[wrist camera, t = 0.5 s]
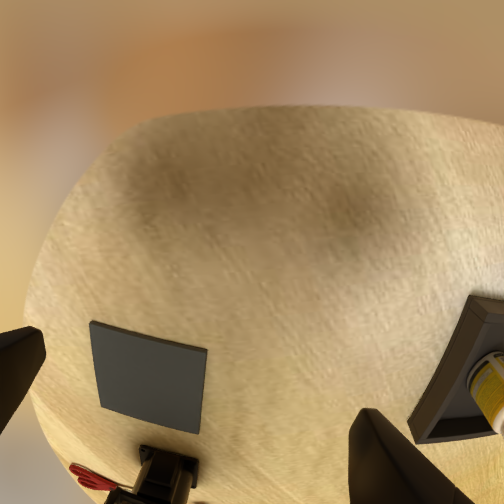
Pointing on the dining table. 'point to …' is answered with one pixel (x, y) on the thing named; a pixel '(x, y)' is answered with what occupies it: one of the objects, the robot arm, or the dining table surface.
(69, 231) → the dining table surface
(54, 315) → the dining table surface
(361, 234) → the dining table surface
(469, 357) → the tray
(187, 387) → the mat
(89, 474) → the scissors
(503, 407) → the supplement bottle
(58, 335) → the dining table surface
